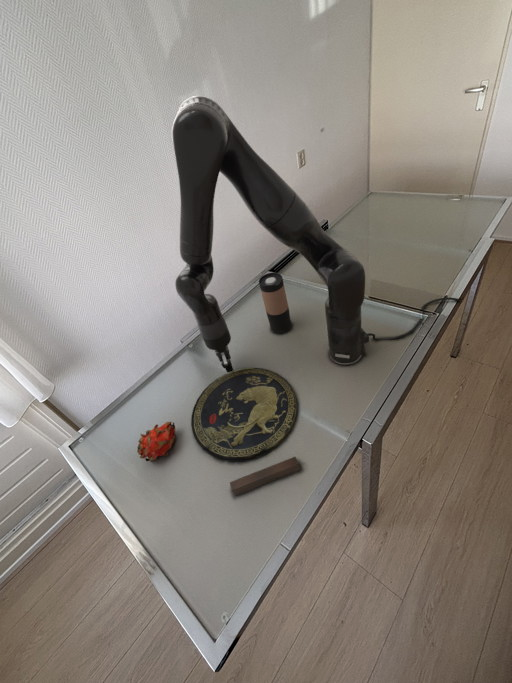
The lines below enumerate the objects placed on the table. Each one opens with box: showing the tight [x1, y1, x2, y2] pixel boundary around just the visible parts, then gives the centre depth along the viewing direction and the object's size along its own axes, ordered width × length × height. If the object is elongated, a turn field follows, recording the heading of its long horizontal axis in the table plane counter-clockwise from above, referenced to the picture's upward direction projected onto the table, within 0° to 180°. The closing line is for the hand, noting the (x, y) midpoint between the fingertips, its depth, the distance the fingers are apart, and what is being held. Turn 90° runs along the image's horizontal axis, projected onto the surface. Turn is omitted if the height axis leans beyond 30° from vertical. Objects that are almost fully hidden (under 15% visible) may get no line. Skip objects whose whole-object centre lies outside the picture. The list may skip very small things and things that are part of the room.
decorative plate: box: [190, 367, 298, 463], centre depth 89 cm, size 30×2×30 cm
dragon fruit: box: [136, 421, 177, 462], centre depth 84 cm, size 8×8×12 cm
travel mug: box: [258, 272, 292, 335], centre depth 105 cm, size 8×8×20 cm
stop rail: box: [229, 456, 301, 496], centre depth 73 cm, size 16×2×3 cm, turn 106°
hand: (229, 370), depth 100 cm, fingers closed
